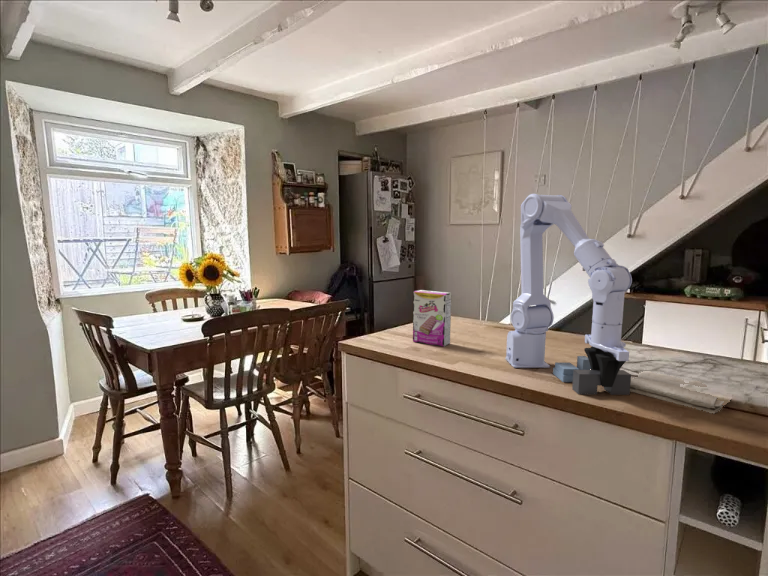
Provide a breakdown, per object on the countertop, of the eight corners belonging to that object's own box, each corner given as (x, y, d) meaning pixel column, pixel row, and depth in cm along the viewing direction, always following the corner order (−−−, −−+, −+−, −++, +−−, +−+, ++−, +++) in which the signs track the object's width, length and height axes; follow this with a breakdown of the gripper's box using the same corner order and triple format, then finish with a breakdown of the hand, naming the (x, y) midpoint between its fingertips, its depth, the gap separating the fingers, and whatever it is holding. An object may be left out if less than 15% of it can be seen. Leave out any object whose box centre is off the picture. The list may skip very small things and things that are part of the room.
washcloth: (718, 418, 80) (720, 402, 80) (618, 391, 94) (619, 378, 94) (733, 402, 88) (735, 388, 87) (639, 379, 101) (640, 367, 101)
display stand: (562, 382, 98) (564, 361, 97) (552, 373, 104) (553, 353, 103) (614, 382, 98) (616, 361, 97) (601, 373, 104) (602, 354, 103)
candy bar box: (412, 342, 134) (412, 291, 132) (419, 338, 138) (419, 289, 136) (444, 347, 128) (445, 294, 126) (450, 343, 132) (452, 292, 130)
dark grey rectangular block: (578, 394, 91) (579, 374, 90) (572, 389, 94) (573, 369, 93) (629, 394, 90) (631, 374, 90) (621, 389, 93) (623, 370, 93)
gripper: (646, 330, 83) (640, 396, 85) (607, 315, 97) (603, 372, 99) (610, 330, 83) (605, 396, 85) (577, 315, 97) (573, 372, 99)
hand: (602, 383), depth 92 cm, fingers closed on dark grey rectangular block, 3 cm apart
